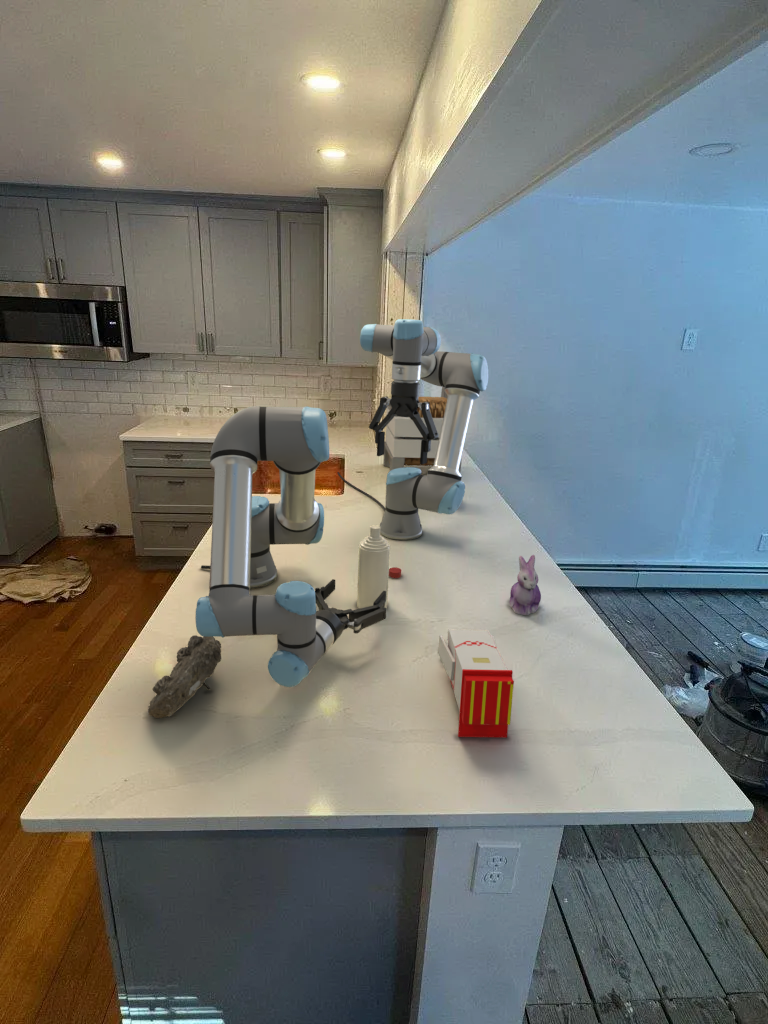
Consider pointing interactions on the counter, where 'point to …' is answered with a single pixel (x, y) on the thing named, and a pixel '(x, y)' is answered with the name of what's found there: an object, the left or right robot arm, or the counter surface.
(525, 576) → the figurine
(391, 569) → the cap
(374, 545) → the bottle
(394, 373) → the right robot arm
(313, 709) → the counter surface
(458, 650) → the toy
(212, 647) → the fossil
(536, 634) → the counter surface
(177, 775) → the counter surface
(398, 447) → the white slatted crate
